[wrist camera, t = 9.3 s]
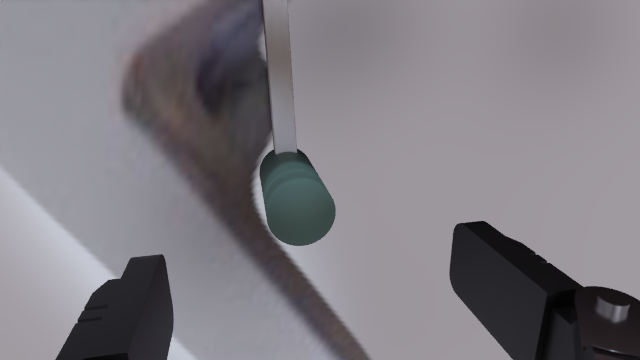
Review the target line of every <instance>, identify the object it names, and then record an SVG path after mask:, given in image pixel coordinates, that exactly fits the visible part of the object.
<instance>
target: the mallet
mask: <svg viewBox="0 0 640 360" xmlns="http://www.w3.org/2000/svg"><path fill="white" fill-rule="evenodd" d="M262 9H263V21H264V33H265V46H266V58H267V70H268V82H269V95H270V107H271V119H272V131H273V143H274V150H272V151H271V152H269V153H268V154H267V155H266V156H265V158H264V159H263V161H262V163H261V166H260V179H261V185H262V192H263V197H264V204H265V210H266V217H267V223H268V226H269V228H270V230H271V232H272V233H273V234H274V235H275V237H277V238H278V239H279V240H280V241H282V242H284V243H286V244H290V245H294V246H302V245H309V244H312V243H314V242H316V241H318V240H320V239H321V238H322V237H324V236H325V234H327V232H328V231H329V230H330V228H331V227H332V224H333V222H334V219H335V204H334V201H333V199H332V197H331V195H330V194H329V192H328V191H327V189H326V187H325V185H324V184H323V182H322V181H321V179H320V177H319V176H318V174H317V172H316V171H315V169H314V167H313V166H312V164H311V162H310V161H309V159H308V157H307V156H306V155H305V154H304V153H303V152H302V151H300V150H298V149H297V145H296V129H295V114H294V99H293V83H292V67H291V51H290V35H289V20H288V3H287V0H262Z"/></svg>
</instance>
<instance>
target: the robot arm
mask: <svg viewBox="0 0 640 360" xmlns="http://www.w3.org/2000/svg"><path fill="white" fill-rule="evenodd" d="M450 280H451V285H452V287H453V290H454V291H455V293H456V294H457V295H458V297H459V298H460V299H461V300H462V301H463V302H464V304H466V306H467V307H468V308H469V309H470V310H471V311H472V313H473V314H474V315H475V316H476V317H477V318H478V320H479V321H480V322H481V323H482V324H483V325H484V327H485V328H486V329H487V330H488V331H489V332H490V334H491V335H492V336H493V337H494V338H495V339H496V340H497V342H498V343H499V344H500V345H501V346H502V347H503V349H504V350H505V351H506V352H507V353H508V354H509V355H510V357H511V358H512V359H513V360H640V301H639V300H638V299H636V298H634V297H632V296H630V295H628V294H626V293H623V292H621V291H617V290H614V289H610V288H606V287H598V286H587V287H583V286H581V285H580V284H579V283H577V282H576V281H574V280H573V279H571V278H570V277H569V276H567V275H566V274H565V273H563V272H562V271H560V270H559V269H557V268H556V267H555V266H553V265H552V264H550V263H547V261H546V260H545V259H543V258H542V257H541V256H539V255H536V254H535V252H534V251H532V250H531V249H530V248H528V247H527V246H525V245H524V244H522V243H520V242H518V241H516V240H513V239H511V238H509V237H506V236H504V235H503V234H501V233H500V232H499V231H497V230H496V229H495V228H493V227H492V226H491V225H489V224H488V223H487V222H485V221H477V222H468V223H459V224H457V225H456V226H455V228H454V233H453V243H452V252H451V262H450ZM84 309H85V310H84V311H82V313H81V315H80V317H79V318H78V323H76V324H75V326H74V327H73V329H72V331H71V333H70V335H69V337H68V338H67V340H66V342H65V344H64V345H63V347H62V349H61V351H60V353H59V354H58V356H57V358H56V360H167V356H168V351H169V346H170V342H171V337H172V332H173V305H172V299H171V293H170V287H169V280H168V274H167V268H166V262H165V258H164V256H163V255H162V254H161V255H151V256H142V257H132V258H131V259H130V260H129V262H128V264H127V266H126V269H125V271H124V273H123V275H122V277H121V279H112V280H108V281H107V282H105V283H104V284H103V285H102V286H101V287H100V288H98V289H97V290H96V291H95V292H94V293H93V294H92V295H91V297H90V299H89V301H88V303H87V304H86V306H85V308H84Z"/></svg>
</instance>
